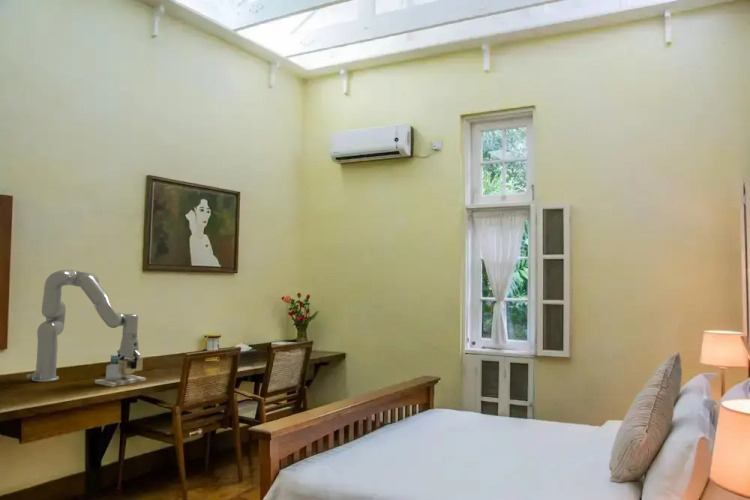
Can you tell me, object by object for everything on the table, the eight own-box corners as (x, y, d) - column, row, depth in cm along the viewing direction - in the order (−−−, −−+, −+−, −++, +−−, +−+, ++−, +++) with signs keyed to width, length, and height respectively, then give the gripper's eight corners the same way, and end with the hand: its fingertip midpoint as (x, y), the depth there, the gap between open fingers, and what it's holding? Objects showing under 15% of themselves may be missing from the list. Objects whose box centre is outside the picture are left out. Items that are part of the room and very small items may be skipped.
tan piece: (125, 374, 323) (125, 361, 323) (117, 372, 326) (118, 359, 326) (145, 370, 336) (146, 358, 336) (138, 369, 338) (138, 357, 338)
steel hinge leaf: (109, 382, 315) (110, 362, 315) (102, 380, 317) (103, 361, 317) (133, 378, 328) (134, 359, 329) (126, 376, 331) (127, 357, 331)
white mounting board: (112, 386, 311) (112, 383, 311) (94, 383, 318) (94, 380, 318) (145, 380, 331) (146, 377, 331) (128, 377, 337) (128, 374, 337)
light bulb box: (119, 375, 342) (120, 356, 342) (109, 373, 343) (110, 355, 343) (130, 371, 352) (131, 353, 353) (120, 370, 354) (121, 352, 354)
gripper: (146, 337, 328) (144, 368, 327) (124, 334, 336) (122, 364, 335) (135, 338, 321) (133, 370, 321) (113, 335, 329) (111, 366, 329)
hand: (127, 367), depth 328 cm, fingers open, 9 cm apart
